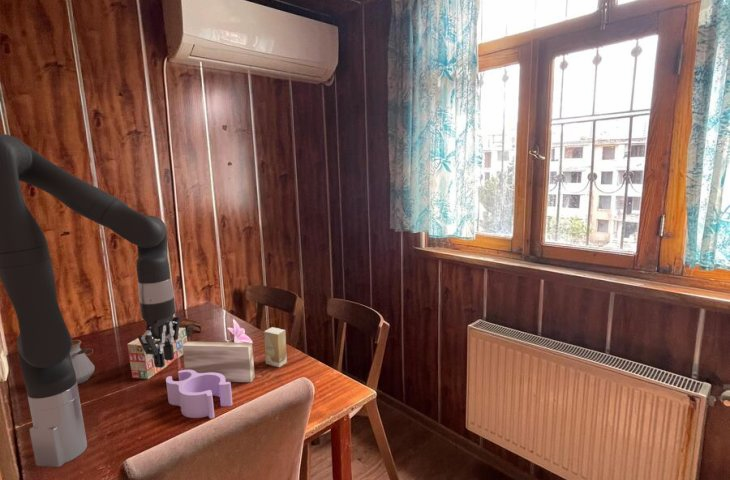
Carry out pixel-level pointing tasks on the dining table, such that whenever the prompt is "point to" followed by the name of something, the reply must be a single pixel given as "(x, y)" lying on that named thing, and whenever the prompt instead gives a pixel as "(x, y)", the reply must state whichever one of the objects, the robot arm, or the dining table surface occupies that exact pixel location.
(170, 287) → the robot arm
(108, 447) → the dining table surface
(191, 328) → the pottery mug
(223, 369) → the board
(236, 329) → the lily
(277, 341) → the skincare box
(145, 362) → the stack of blocks
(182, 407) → the clip
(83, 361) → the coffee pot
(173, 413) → the dining table surface
